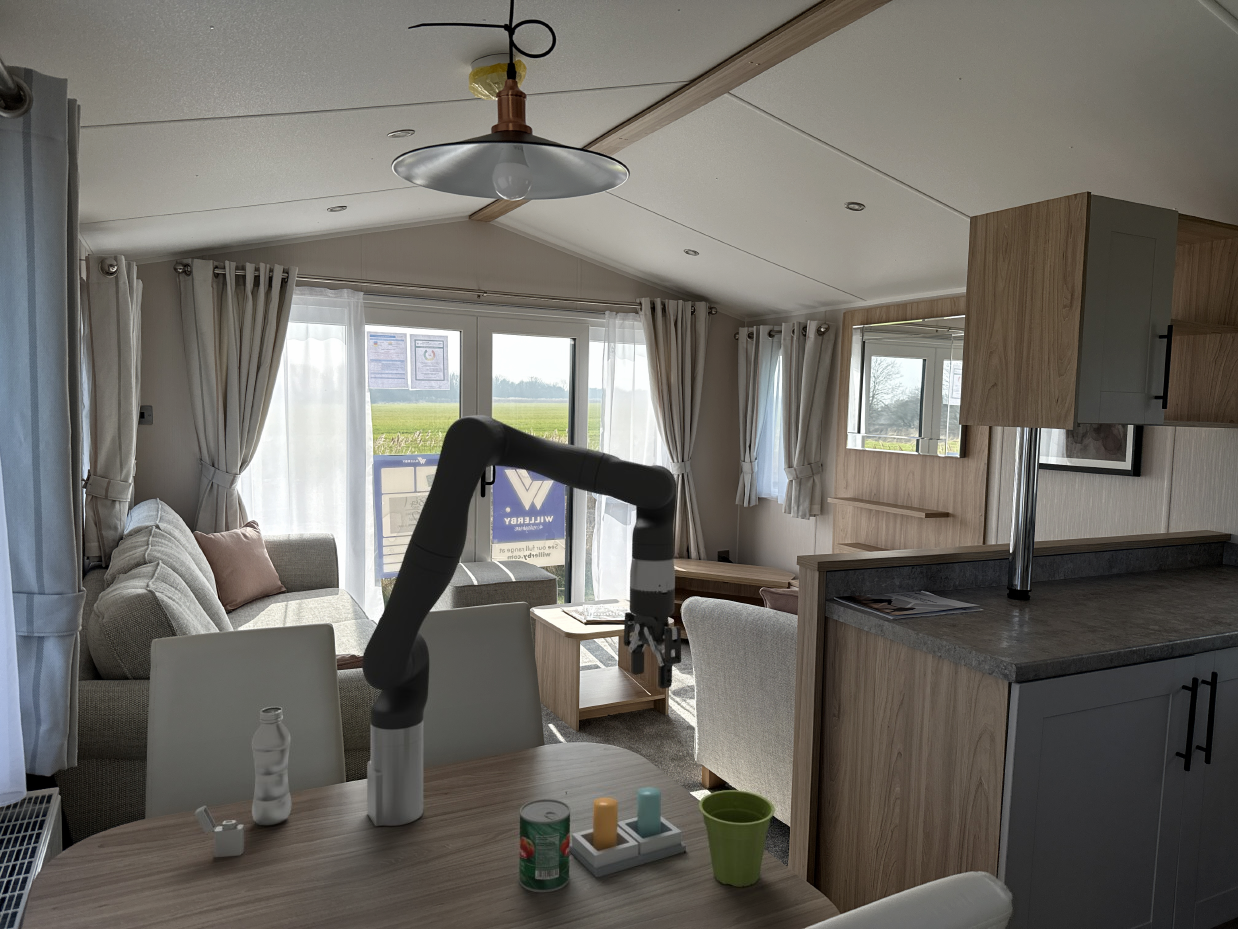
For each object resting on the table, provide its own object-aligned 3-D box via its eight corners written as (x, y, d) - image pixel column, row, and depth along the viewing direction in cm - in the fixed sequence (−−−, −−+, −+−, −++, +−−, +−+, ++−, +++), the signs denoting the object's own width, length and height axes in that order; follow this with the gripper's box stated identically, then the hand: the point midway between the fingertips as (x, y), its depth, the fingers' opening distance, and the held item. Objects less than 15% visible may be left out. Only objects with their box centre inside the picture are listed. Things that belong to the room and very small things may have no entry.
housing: (596, 877, 130) (596, 859, 130) (567, 849, 139) (568, 831, 138) (685, 851, 138) (686, 833, 138) (653, 826, 147) (653, 809, 147)
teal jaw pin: (645, 846, 138) (645, 799, 137) (632, 836, 141) (632, 790, 141) (665, 840, 140) (665, 794, 139) (652, 830, 143) (652, 785, 143)
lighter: (244, 849, 137) (243, 802, 137) (241, 855, 135) (241, 807, 135) (197, 853, 136) (197, 805, 135) (194, 858, 134) (194, 810, 134)
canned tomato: (509, 876, 130) (510, 807, 130) (551, 860, 135) (552, 794, 134) (536, 899, 124) (537, 826, 123) (579, 882, 129) (580, 812, 128)
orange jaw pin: (600, 859, 134) (600, 810, 133) (588, 848, 137) (588, 800, 137) (621, 853, 136) (622, 805, 135) (609, 842, 139) (610, 795, 139)
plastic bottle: (298, 813, 150) (298, 704, 149) (279, 831, 143) (279, 717, 142) (264, 811, 151) (264, 703, 150) (244, 829, 144) (243, 715, 143)
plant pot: (728, 849, 139) (729, 783, 139) (788, 876, 131) (789, 806, 131) (682, 874, 131) (683, 804, 131) (742, 906, 123) (744, 831, 122)
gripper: (611, 579, 143) (610, 672, 144) (656, 594, 131) (654, 696, 131) (648, 576, 147) (647, 667, 148) (695, 590, 135) (693, 689, 135)
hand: (650, 680), depth 139 cm, fingers open, 8 cm apart
